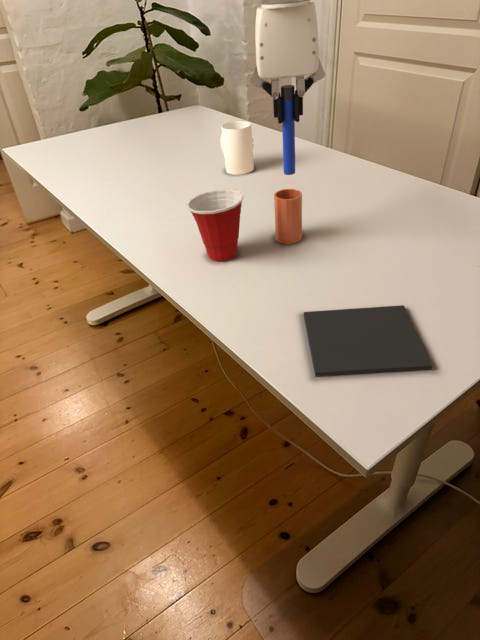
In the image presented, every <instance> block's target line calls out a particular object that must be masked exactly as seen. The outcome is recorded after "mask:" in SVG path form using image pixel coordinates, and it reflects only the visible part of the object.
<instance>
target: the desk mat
mask: <svg viewBox="0 0 480 640" xmlns="http://www.w3.org/2000/svg"><path fill="white" fill-rule="evenodd" d="M303 319H304V326H305V330H306V335H307V341H308V345H309V351H310V356H311V362H312V367H313V372H314V376H315V377H330V376H345V375H362V374H363V375H364V374H378V373H379V374H380V373H396V372H411V371H429V370H433V367H434V365H433V363H432V360H431V359H430V356H429V355H428V352H427V350H426V348H425V346H424V344H423V342H422V340H421V338H420V336H419V334H418V332H417V330H416V328H415V326H414V324H413V322H412V319H411V318H410V316H409V314H408V311H407V309H406V308H405V305H389V306H388V305H387V306H374V307H373V306H372V307H358V308H357V307H356V308H345V309H343V308H342V309H330V310H329V309H328V310H314V311H303Z"/></svg>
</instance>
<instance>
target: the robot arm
mask: <svg viewBox="0 0 480 640" xmlns="http://www.w3.org/2000/svg"><path fill="white" fill-rule="evenodd" d="M260 4H261V6H259V7H256V14H255V27H254V28H255V30H254V33H255V34H254V36H255V37H254V39H255V40H254V41H255V43H254V45H255V64H254V68H253V69H252V73H251V77H250V78H249V79H250V81H249V82H250V84H251V85H252V86H255V87H257V88H259V89H263V90H264V91H265V92H266V93H267V94H268V95H269V96H270V97H271V98H272V109H273V118H274V119H276V118H277V123H278V125H280V124H281V125H282V123H283V114H282V98H281V91H280V79H289V78H295V90H294V95H295V97H294V116H295V122H296V123H300V116H303V115H304V96H305V94H306V93H307V92H308V90H310V88H311V87H312V86H313V85H314V84H315V83H317V82H319V81H321V80H322V79H324V78H325V77H326V73H325V70H324V68H323V65H322V62H321V60H320V57H319V56H320V55H319V54H320V52H319V51H320V50H319V49H320V48H319V32H318V28H319V27H318V19H317V11H316V5H315V2H314V1H311V0H261V2H260ZM269 80H270V81H269Z"/></svg>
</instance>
